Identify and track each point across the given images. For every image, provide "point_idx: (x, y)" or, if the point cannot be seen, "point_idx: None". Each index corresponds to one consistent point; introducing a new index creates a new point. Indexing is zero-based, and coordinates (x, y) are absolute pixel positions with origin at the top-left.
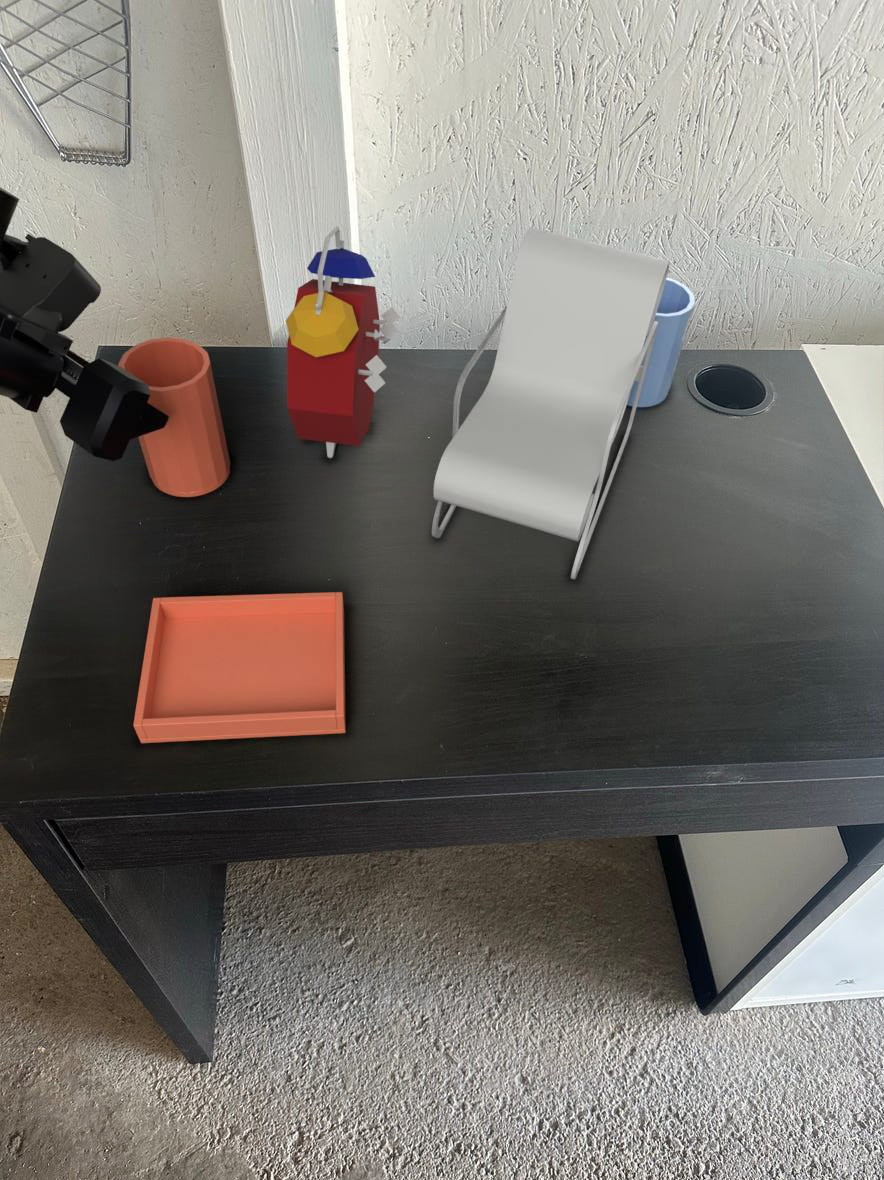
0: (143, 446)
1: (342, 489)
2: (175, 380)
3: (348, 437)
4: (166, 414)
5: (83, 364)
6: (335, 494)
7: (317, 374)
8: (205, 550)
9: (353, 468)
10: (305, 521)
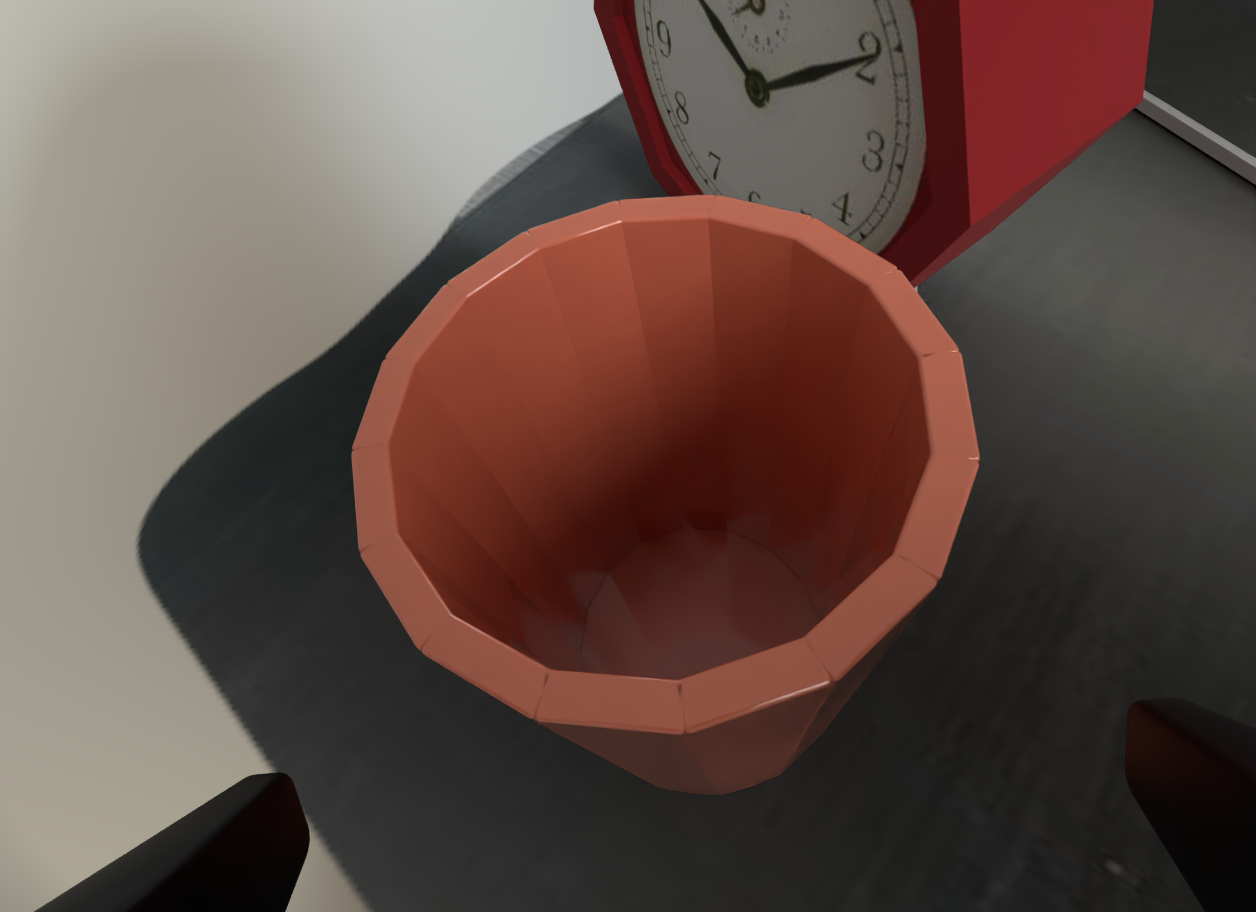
0: (669, 779)
1: (1053, 358)
2: (539, 447)
3: (1005, 216)
4: (1188, 707)
5: (197, 897)
6: (1064, 382)
7: (1057, 2)
8: (1136, 876)
9: (982, 298)
10: (1146, 507)
